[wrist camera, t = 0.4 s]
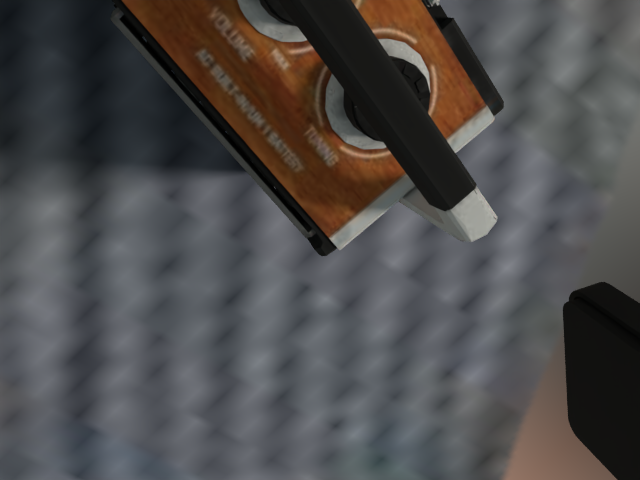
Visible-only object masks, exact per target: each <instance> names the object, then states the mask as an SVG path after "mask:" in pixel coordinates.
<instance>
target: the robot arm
mask: <svg viewBox="0 0 640 480" xmlns="http://www.w3.org/2000/svg"><path fill="white" fill-rule="evenodd" d="M563 322H564V343H565V364H566V383H567V405H568V419H569V423H570V426H571V428H572V430H573V432H574V434H575V435H576V436H577V438H578V439H579V440H580V441H581V442H582V443H583V444H584V445H585V446H586V447H587V448H588V449H589V450H590V451H591V452H592V453H593V455H594V456H595V457H596V458H597V459H598V460H599V461H600V462H601V463H602V464H603V465H604V466H605V467H606V468H607V469H608V470H609V471H610V472H611V473H612V474H613V475H614V477H615V478H616V479H617V480H640V303H638V302H637V301H635V300H634V299H632V298H630V297H629V296H627V295H626V294H624V293H623V292H621V291H619V290H618V289H616V288H615V287H613V286H612V285H610V284H608V283H605V282H599V283H597V284H594V285H591V286H588V287H585V288H582V289H579V290H576V291H573V292H572V293H571V294H570V297H569V302H566V303H565V304H564V306H563Z"/></svg>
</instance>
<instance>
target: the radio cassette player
mask: <svg viewBox="0 0 640 480" xmlns="http://www.w3.org/2000/svg"><path fill="white" fill-rule="evenodd" d="M112 1H113V2H114V3H115V5H114V6H115V7H116V9H115V10H114V11H112V15H111V21H112V22H113V23H114V24H115V25H116V26H117V27H118V28H119V29H120V31H121V32H122V33H123V34H124V35H125V36H126V37H127V38H128V40H129V41H130V42H131V43H132V44H133V45H134V46H135V47H136V48H137V50H138V51H139V52H140V53H141V54H142V55H143V56H144V57H145V59H146V60H147V61H148V62H149V63H150V64H151V65H152V66H153V68H154V69H155V70H156V71H157V72H158V73H159V74H160V75H161V76H162V78H163V79H164V80H165V81H166V82H167V83H168V84H169V85H170V87H171V88H172V89H173V90H174V91H175V92H176V93H177V94H178V95H179V97H180V98H181V99H182V100H183V101H184V102H185V103H186V104H187V106H188V107H189V108H190V109H191V110H192V111H193V112H194V113H195V114H196V116H197V117H198V118H199V119H200V120H201V121H202V122H203V123H204V125H205V126H206V127H207V128H208V129H209V130H210V131H211V132H212V133H213V135H214V136H215V137H216V138H217V139H218V140H219V141H220V142H221V144H222V145H223V146H224V147H225V148H226V149H227V150H228V151H229V152H230V154H231V155H232V156H233V157H234V158H235V159H236V160H237V161H238V163H239V164H240V165H241V166H242V167H243V168H244V169H245V170H246V171H247V173H248V174H249V175H250V176H251V177H252V178H253V179H254V180H255V182H256V183H257V184H258V185H259V186H260V187H261V188H262V189H263V191H264V192H265V193H266V194H267V195H268V196H269V197H270V198H271V199H272V201H273V202H274V203H275V204H276V205H277V206H278V207H279V208H280V210H281V211H282V212H283V213H284V214H285V215H286V216H287V217H288V218H289V220H290V221H291V222H292V223H293V224H294V225H295V226H296V227H297V229H298V230H299V231H300V232H301V233H302V234H303V235H304V236H305V237H306V238H307V239H308V240H309V242H310V243H311V245H312V246H313V248H314V249H315V250H316V252H317V253H318V254H319V255H321V256H327V255H328V254H330V253H331V252H333V251H334V250H335V249H337V248H338V249H339V250H341V249H342V248H343V247H344V246H346V245H347V244H348V243H349V242H350V241H352V240H353V239H354V238H355V237H356V236H358V235H359V234H360V233H361V232H362V231H364V230H365V229H366V228H367V227H368V226H369V225H371V224H372V223H373V222H374V221H375V220H377V219H378V218H379V217H380V216H381V215H383V214H384V213H385V212H386V211H387V210H389V209H390V208H391V207H392V206H393V205H394V204H396V203H397V202H398V201H399V202H400V203H402V204H403V205H405V206H406V207H408V208H410V209H411V210H413V211H414V212H416V213H417V214H419V215H420V216H422V217H423V218H425V219H427V220H428V221H430V222H431V223H433V224H434V225H436V226H437V227H439V228H441V229H442V230H444V231H445V232H447V233H448V234H450V235H452V236H453V237H455V238H457V239H458V240H460V241H465V242H472V241H474V240H477V239H479V238H481V237H483V236H485V235H487V234H488V232H489V231H490V230H491V228H492V227H493V226H494V224H495V223H496V222H497V216H496V214H495V213H494V211H493V210H492V209H491V207H490V206H489V204H488V203H487V201H486V200H485V198H484V197H483V195H482V194H481V192H480V191H479V189H478V188H477V186H476V183H475V182H474V180H473V179H472V177H471V176H470V174H469V173H468V171H467V170H466V168H465V167H464V165H463V164H462V162H461V161H460V159H459V158H458V157H457V155H456V154H455V153H456V152H458V151H459V150H460V149H461V148H462V147H464V146H465V145H466V144H467V143H468V142H469V141H471V140H472V139H473V138H474V137H475V136H477V135H478V134H479V133H480V132H481V131H483V130H484V129H485V128H486V127H487V126H489V125H490V124H491V123H492V122H493V121H494V119H495V118H494V116H495V115H496V114H497V113H499V112H500V111H501V110H502V109H503V108H504V101H503V100H502V98H501V96H500V95H499V93H498V91H497V90H496V88H495V86H494V85H493V83H492V81H491V80H490V78H489V76H488V75H487V73H486V71H485V70H484V68H483V66H482V65H481V63H480V61H479V60H478V58H477V56H476V55H475V53H474V52H473V50H472V48H471V47H470V45H469V43H468V42H467V40H466V38H465V37H464V35H463V33H462V32H461V30H460V28H459V27H458V25H457V23H456V22H455V20H454V18H448V17H447V15H446V14H445V12H444V10H443V9H442V7H441V6H440V4H439V2H438V1H440V0H112ZM143 36H144V37H145V39H146V40H147V42H145V40H144V39H143V38H142V37H143ZM152 49H153V50H152ZM171 70H174V72H175V74H174V73H173V72H172V71H171ZM189 91H190V92H189ZM199 101H201V103H202V105H203V106H202V105H201V104H200V103H199ZM225 131H226V132H227V134H228V135H229V136H228V135H227V134H226V132H225ZM250 159H251V161H252V162H253V163H252V162H251V161H250ZM274 187H275V188H276V189H275V188H274Z"/></svg>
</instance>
